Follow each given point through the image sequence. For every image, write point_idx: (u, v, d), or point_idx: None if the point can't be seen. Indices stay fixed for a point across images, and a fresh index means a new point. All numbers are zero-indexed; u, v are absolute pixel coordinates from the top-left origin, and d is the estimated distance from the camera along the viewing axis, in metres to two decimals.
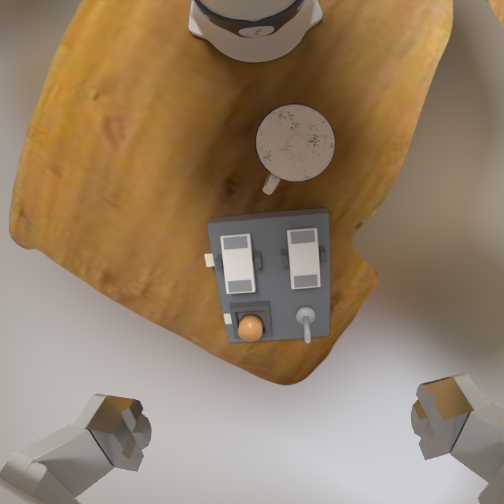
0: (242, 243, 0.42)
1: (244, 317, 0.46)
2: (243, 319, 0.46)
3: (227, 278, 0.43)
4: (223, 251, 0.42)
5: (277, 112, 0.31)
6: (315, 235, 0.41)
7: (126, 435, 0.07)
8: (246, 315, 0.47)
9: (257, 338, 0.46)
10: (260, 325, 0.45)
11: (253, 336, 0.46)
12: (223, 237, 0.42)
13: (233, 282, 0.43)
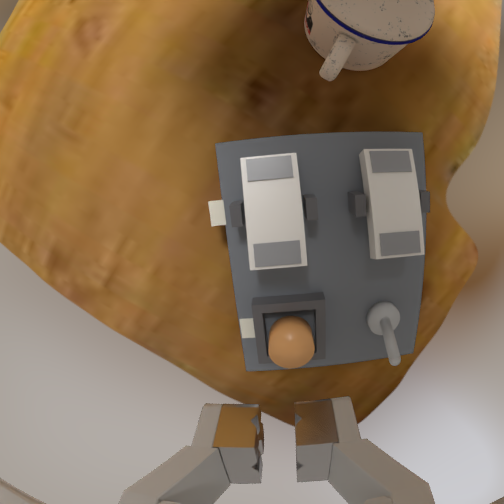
0: (283, 169, 0.21)
1: (280, 322, 0.25)
2: (278, 326, 0.24)
3: (252, 238, 0.22)
4: (245, 185, 0.22)
5: None
6: (411, 160, 0.20)
7: (257, 445, 0.06)
8: (283, 319, 0.25)
9: (304, 361, 0.23)
10: (311, 336, 0.23)
11: (296, 358, 0.23)
12: (246, 159, 0.22)
13: (264, 246, 0.22)
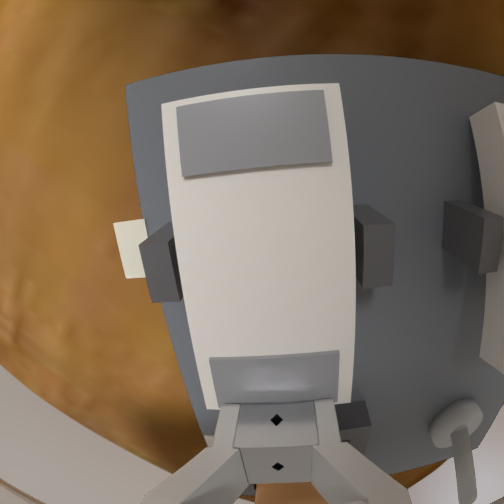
0: (298, 134, 0.06)
1: None
2: None
3: (206, 344, 0.07)
4: (177, 189, 0.07)
5: None
6: None
7: None
8: None
9: None
10: None
11: None
12: None
13: (240, 366, 0.07)
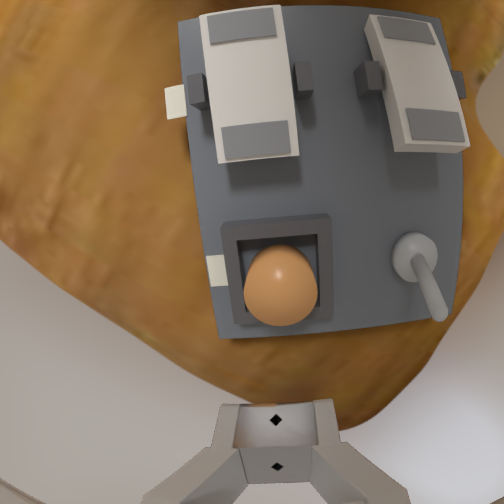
0: (261, 25, 0.12)
1: (262, 252, 0.16)
2: (260, 257, 0.16)
3: (219, 120, 0.14)
4: (207, 49, 0.13)
5: None
6: (432, 33, 0.12)
7: None
8: (268, 248, 0.17)
9: (301, 314, 0.15)
10: (311, 272, 0.15)
11: (288, 308, 0.15)
12: (207, 16, 0.12)
13: (237, 129, 0.14)
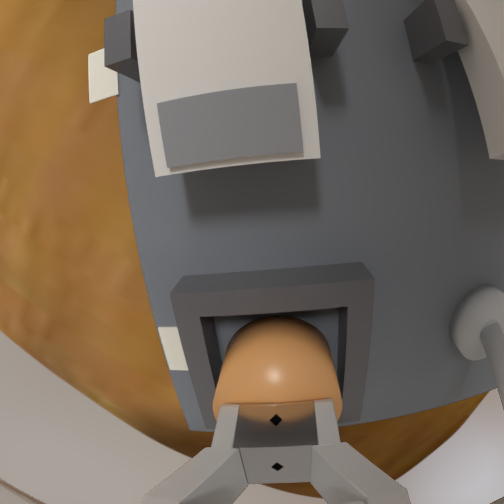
0: None
1: (248, 334, 0.09)
2: (242, 344, 0.09)
3: (155, 89, 0.06)
4: None
5: None
6: None
7: None
8: (258, 325, 0.09)
9: None
10: (333, 374, 0.08)
11: None
12: None
13: (189, 106, 0.06)
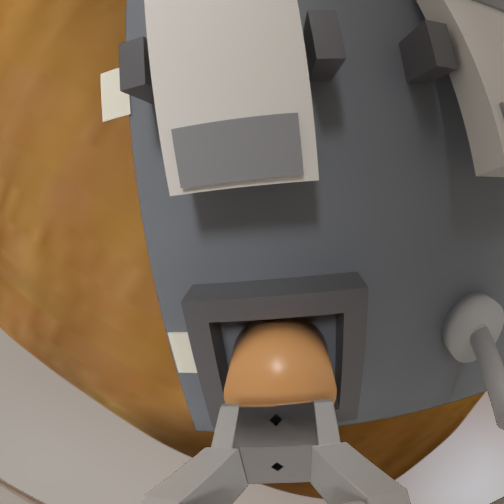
0: None
1: (254, 330, 0.10)
2: (249, 338, 0.10)
3: (169, 115, 0.07)
4: None
5: None
6: None
7: None
8: (262, 322, 0.11)
9: None
10: (329, 364, 0.09)
11: None
12: None
13: (201, 132, 0.07)
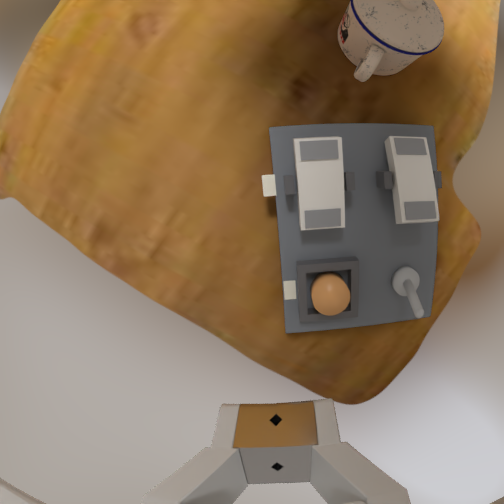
0: (330, 151, 0.24)
1: (320, 276, 0.29)
2: (319, 278, 0.29)
3: (303, 206, 0.26)
4: (298, 163, 0.25)
5: None
6: (425, 146, 0.24)
7: None
8: (323, 273, 0.30)
9: (341, 308, 0.28)
10: None
11: (335, 305, 0.28)
12: (299, 141, 0.24)
13: (313, 212, 0.27)
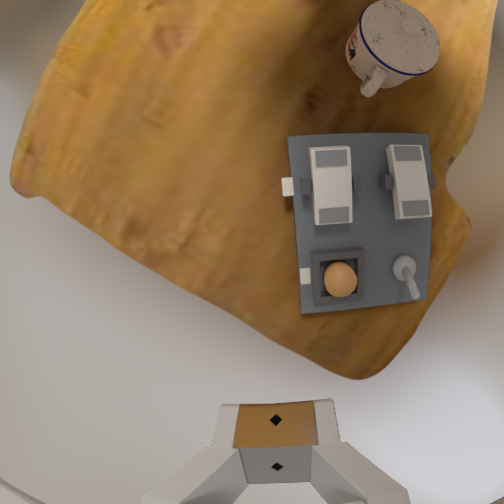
0: (340, 159, 0.29)
1: (331, 263, 0.34)
2: (331, 265, 0.34)
3: (318, 205, 0.31)
4: (314, 169, 0.30)
5: (381, 2, 0.21)
6: (421, 152, 0.29)
7: None
8: (333, 261, 0.35)
9: (350, 291, 0.33)
10: (354, 272, 0.33)
11: (344, 288, 0.33)
12: (315, 150, 0.29)
13: (326, 210, 0.31)
